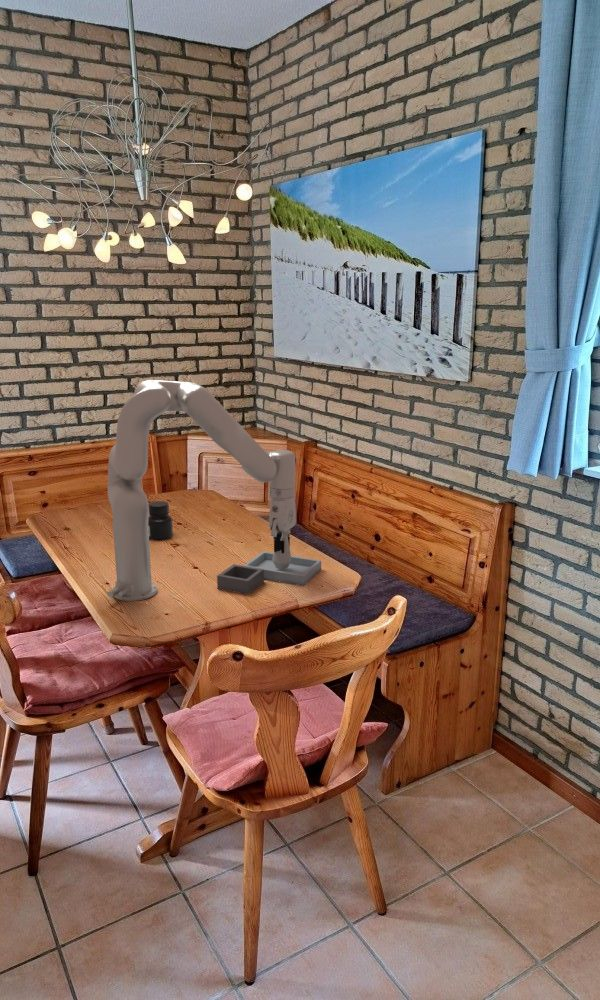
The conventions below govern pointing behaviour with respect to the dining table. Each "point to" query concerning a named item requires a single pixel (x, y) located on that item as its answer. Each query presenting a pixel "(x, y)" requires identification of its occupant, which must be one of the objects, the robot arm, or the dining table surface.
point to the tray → (294, 574)
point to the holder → (240, 579)
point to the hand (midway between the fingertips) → (281, 549)
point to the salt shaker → (282, 554)
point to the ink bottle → (159, 521)
